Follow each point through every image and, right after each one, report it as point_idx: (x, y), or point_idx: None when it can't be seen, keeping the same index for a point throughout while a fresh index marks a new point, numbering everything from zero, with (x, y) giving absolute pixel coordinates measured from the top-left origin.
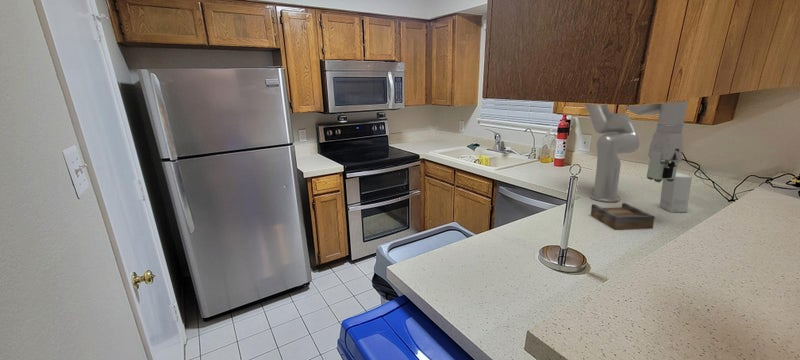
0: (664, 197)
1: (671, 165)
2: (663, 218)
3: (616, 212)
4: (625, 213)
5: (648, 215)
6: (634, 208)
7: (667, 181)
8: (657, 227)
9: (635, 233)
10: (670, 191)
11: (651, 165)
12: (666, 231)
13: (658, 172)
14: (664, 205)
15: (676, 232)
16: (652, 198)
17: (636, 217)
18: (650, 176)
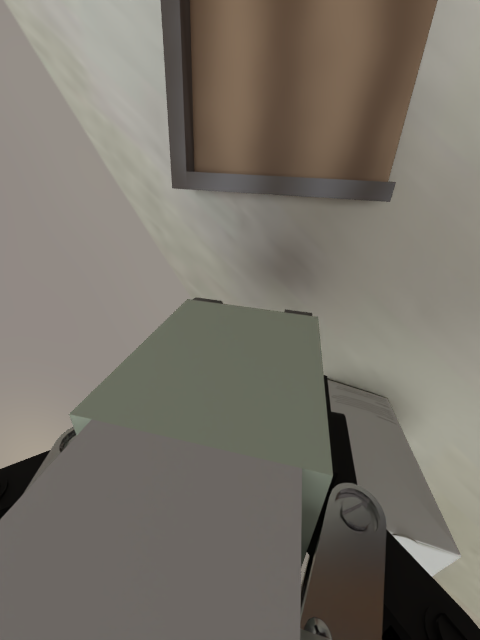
0: (374, 422)
1: (23, 469)
2: (277, 310)
3: (320, 72)
4: (293, 122)
5: (184, 167)
6: (291, 180)
7: (394, 494)
8: (201, 215)
9: (145, 57)
10: (350, 442)
11: (260, 403)
12: (165, 215)
13: (152, 340)
14: (360, 396)
15: (156, 241)
16: (471, 448)
17: (166, 76)
18: (266, 315)
